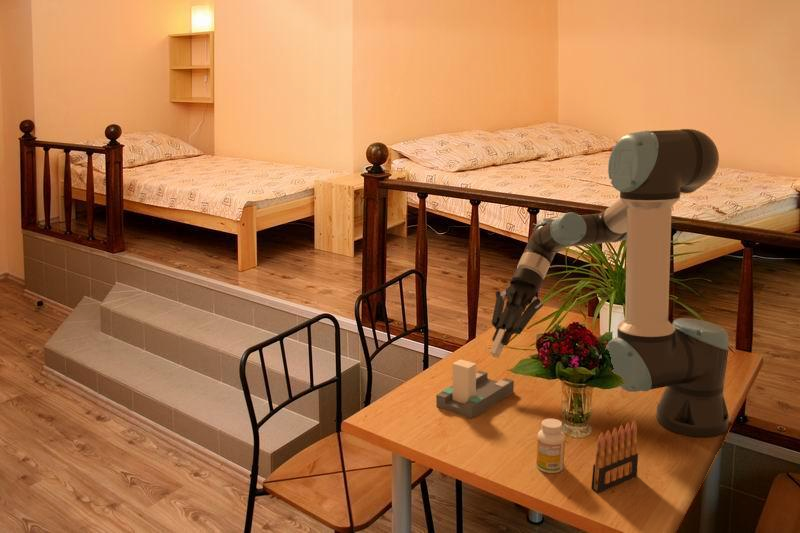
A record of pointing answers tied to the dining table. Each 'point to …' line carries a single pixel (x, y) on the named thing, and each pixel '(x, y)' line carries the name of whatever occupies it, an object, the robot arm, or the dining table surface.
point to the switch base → (477, 396)
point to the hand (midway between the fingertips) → (494, 354)
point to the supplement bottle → (550, 446)
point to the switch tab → (463, 381)
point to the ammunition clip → (615, 458)
